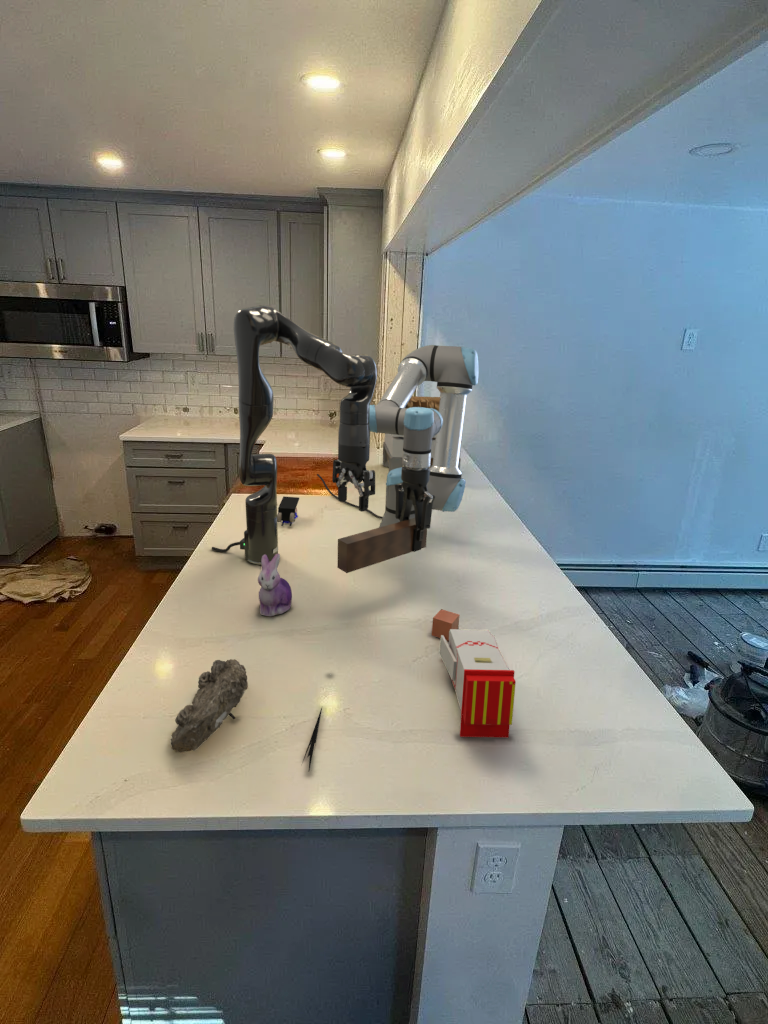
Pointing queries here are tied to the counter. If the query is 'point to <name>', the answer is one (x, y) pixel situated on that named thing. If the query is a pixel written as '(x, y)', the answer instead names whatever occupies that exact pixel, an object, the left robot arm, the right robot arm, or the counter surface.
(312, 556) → the counter surface
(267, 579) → the figurine
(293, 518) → the figurine character
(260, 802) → the counter surface
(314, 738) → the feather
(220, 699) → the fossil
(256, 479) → the left robot arm
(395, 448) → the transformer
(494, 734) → the toy
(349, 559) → the plank
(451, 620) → the terracotta block
